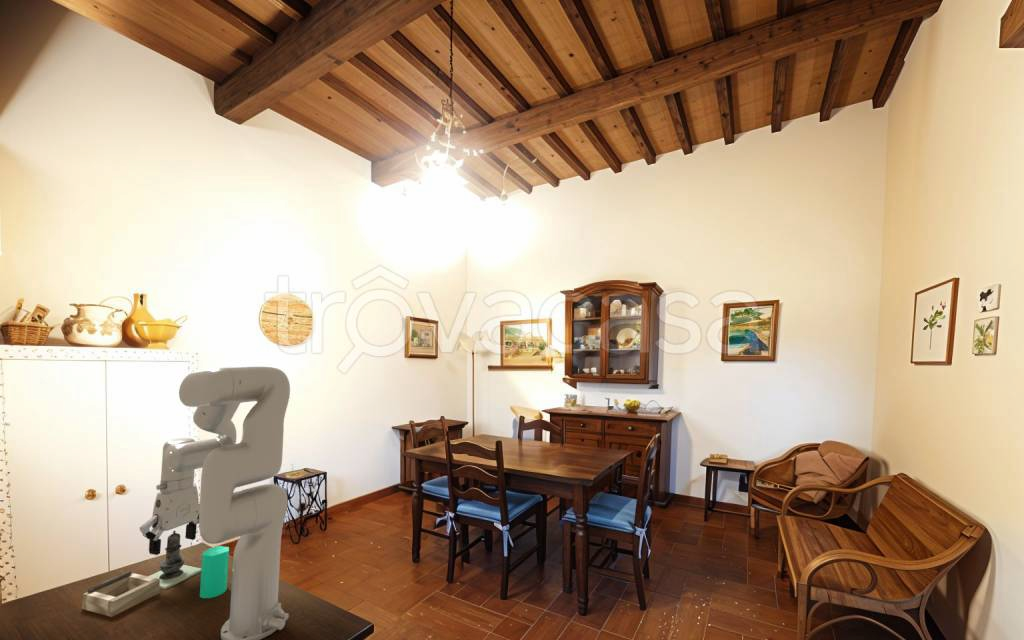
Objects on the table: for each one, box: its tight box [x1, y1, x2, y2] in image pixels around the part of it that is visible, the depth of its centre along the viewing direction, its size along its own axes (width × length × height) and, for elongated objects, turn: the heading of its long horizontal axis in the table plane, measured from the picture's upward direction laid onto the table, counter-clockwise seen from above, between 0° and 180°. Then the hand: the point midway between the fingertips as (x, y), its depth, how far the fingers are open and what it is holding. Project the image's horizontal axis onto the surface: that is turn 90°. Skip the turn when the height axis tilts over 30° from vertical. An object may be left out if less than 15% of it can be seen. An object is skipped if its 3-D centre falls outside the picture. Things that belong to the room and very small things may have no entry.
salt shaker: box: [158, 530, 186, 580], centre depth 120 cm, size 6×6×12 cm
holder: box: [81, 570, 160, 618], centre depth 108 cm, size 10×10×4 cm
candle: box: [199, 544, 230, 599], centre depth 113 cm, size 6×6×12 cm
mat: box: [147, 564, 202, 590], centre depth 120 cm, size 10×10×1 cm
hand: (173, 546), depth 120 cm, fingers open, 9 cm apart
